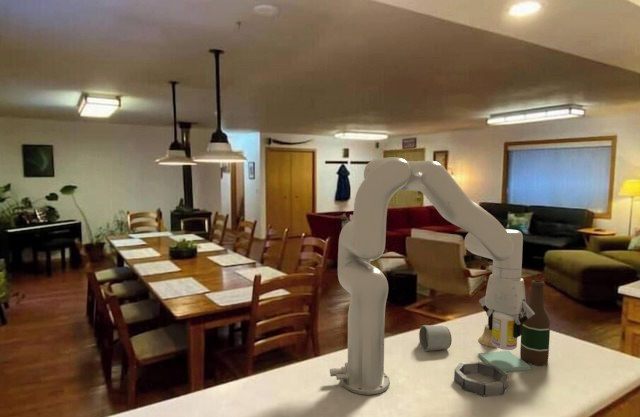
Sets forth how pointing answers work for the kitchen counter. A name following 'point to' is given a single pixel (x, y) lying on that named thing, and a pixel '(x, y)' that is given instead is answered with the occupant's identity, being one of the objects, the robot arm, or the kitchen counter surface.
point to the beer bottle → (536, 329)
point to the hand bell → (486, 337)
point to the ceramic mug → (434, 337)
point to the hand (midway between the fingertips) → (504, 332)
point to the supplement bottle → (503, 331)
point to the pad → (504, 360)
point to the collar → (478, 386)
